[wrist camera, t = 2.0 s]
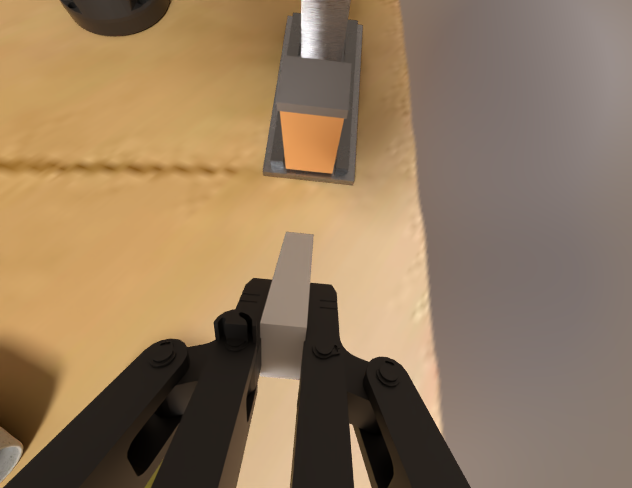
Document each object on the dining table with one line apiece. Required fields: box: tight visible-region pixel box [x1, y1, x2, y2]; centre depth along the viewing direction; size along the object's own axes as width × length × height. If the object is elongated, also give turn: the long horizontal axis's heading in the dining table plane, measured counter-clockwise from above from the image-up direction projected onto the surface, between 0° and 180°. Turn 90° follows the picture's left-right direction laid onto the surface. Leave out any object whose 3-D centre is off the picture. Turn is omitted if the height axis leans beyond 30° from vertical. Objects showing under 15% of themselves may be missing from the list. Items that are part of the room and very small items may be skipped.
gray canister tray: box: [263, 0, 363, 185], centre depth 33 cm, size 28×12×12 cm, turn 175°
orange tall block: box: [276, 55, 352, 174], centre depth 29 cm, size 5×6×11 cm
